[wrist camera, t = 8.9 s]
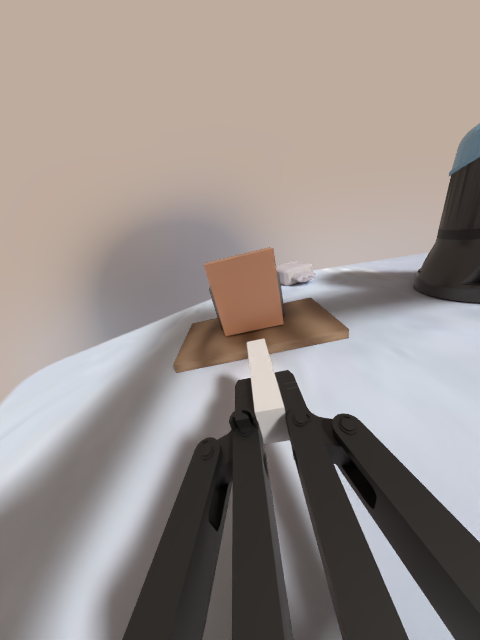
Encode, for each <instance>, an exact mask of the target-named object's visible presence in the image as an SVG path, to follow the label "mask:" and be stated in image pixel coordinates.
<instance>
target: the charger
mask: <svg viewBox="0 0 480 640" xmlns="http://www.w3.org/2000/svg"><path fill="white" fill-rule="evenodd" d="M276 271H277V272H279V275H280V282H281V284H284V285H286V286H288V285H293V284H296V283H299V282H306V281H309V280H311V279H312V278H314V277H315V275H316V274H315V273H313V271H312V265H311V264H308V263H301V262H295V261H293V262H289V263H286V264H282V265H279V266H276Z"/></svg>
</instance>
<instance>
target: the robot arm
mask: <svg viewBox="0 0 480 640" xmlns="http://www.w3.org/2000/svg"><path fill="white" fill-rule="evenodd" d="M449 176H451V179H450V183H449V188H448V192H447V196H446V200H445V204H444V209H443V213H442V217H441V221H440V226H439V230H438V235H437V239H436V242H435V244H434V246H433V248H432V249H431V251H430V253H429V254H428V256H427V258H426V259H425V261H424V263H423V265H422V267H421V269H419V270H418V271H417V273H416V276H415V281H414V288H415V289H416V290H418V291H420V292H422V293H424V294H427V295H430V296H434V297H438V298H443V299H449V300H455V301H464V302H476V303H480V124H478V125H477V126H475V127H474V128H473V129H472V130H470V131H469V132H468V133H467V134H466V135H465V137H464V138H463V139H462V141H461V142H460V144H459V147H458V150H457V153H456V157H455V160H454V164H453V168H452V170H451V171H450V173H449ZM247 350H248V358H249V367H250V375H251V378H247V379H242V380H238V381H237V384H236V386H235V411H234V412H233V413H232V415H231V416H230V419H229V423H230V426H231V428H232V430H231V431H230V432H229V433H228V434H227V435H225V436H223V437H222V438H220V439H218V440H216V439H215V438H212V437H210V438H206V439H204V440H202V441H201V442H200V443H199V444H198V445H197V447H196V449H195V451H194V454H193V456H192V459H191V462H190V464H189V467H188V469H187V472H186V475H185V477H184V480H183V482H182V485H181V488H180V490H179V493H178V496H177V498H176V501H175V503H174V506H173V509H172V511H171V514H170V517H169V519H168V522H167V524H166V527H165V530H164V532H163V535H162V537H161V540H160V543H159V545H158V548H157V551H156V553H155V556H154V558H153V561H152V564H151V566H150V569H149V571H148V574H147V577H146V579H145V582H144V585H143V587H142V590H141V592H140V595H139V598H138V600H137V603H136V606H135V608H134V611H133V613H132V616H131V619H130V621H129V624H128V626H127V629H126V632H125V634H124V637H123V640H202V637H203V632H204V627H205V622H206V617H207V611H208V606H209V601H210V596H211V590H212V585H213V580H214V575H215V570H216V564H217V559H218V554H219V549H220V543H221V538H222V533H223V528H224V523H225V517H226V512H227V507H228V502H229V496H230V491H231V486H232V481H233V551H232V640H293V635H292V629H291V622H290V615H289V608H288V601H287V595H286V588H285V581H284V574H283V567H282V560H281V554H280V547H279V540H278V533H277V526H276V520H275V513H274V506H273V499H272V492H271V486H270V479H269V472H268V465H267V458H266V454H265V450H264V444H269V443H275V442H281V441H287V440H290V442H291V445H292V451H293V456H294V460H295V462H296V466H297V470H298V474H299V477H300V481H301V485H302V489H303V492H304V496H305V500H306V504H307V507H308V511H309V515H310V519H311V522H312V526H313V530H314V534H315V537H316V541H317V545H318V549H319V552H320V556H321V560H322V564H323V567H324V571H325V575H326V579H327V582H328V586H329V590H330V594H331V597H332V601H333V605H334V609H335V612H336V616H337V620H338V624H339V627H340V631H341V635H342V639H343V640H409V639H408V636H407V634H406V632H405V629H404V627H403V625H402V622H401V620H400V618H399V615H398V613H397V611H396V608H395V606H394V604H393V601H392V599H391V597H390V594H389V592H388V590H387V587H386V585H385V583H384V581H383V578H382V576H381V574H380V571H379V569H378V567H377V564H376V562H375V560H374V557H373V555H372V553H371V550H370V548H369V546H368V543H367V541H366V539H365V536H364V534H363V532H362V529H361V527H360V525H359V522H358V520H357V518H356V515H355V513H354V511H353V508H352V506H351V504H350V501H349V499H348V497H347V494H346V492H345V490H344V487H343V485H342V483H341V480H340V478H339V476H338V473H337V471H336V469H335V466H334V464H336V465H337V466H338V468H339V469H340V471H341V472H342V474H343V475H344V476H345V478H346V479H347V481H348V482H349V484H350V485H351V487H352V488H353V490H354V491H355V493H356V494H357V496H358V497H359V499H360V500H361V502H362V503H363V504H364V506H365V507H366V509H367V510H368V512H369V513H370V515H371V516H372V518H373V519H374V521H375V522H376V524H377V525H378V527H379V528H380V530H381V531H382V532H383V534H384V535H385V537H386V538H387V540H388V541H389V543H390V544H391V546H392V547H393V549H394V550H395V552H396V553H397V555H398V556H399V558H400V559H401V560H402V562H403V563H404V565H405V566H406V568H407V569H408V571H409V572H410V574H411V575H412V577H413V578H414V580H415V581H416V583H417V584H418V585H419V587H420V588H421V590H422V591H423V593H424V594H425V596H426V597H427V599H428V600H429V602H430V603H431V605H432V606H433V608H434V609H435V611H436V612H437V613H438V615H439V616H440V618H441V619H442V621H443V622H444V624H445V625H446V627H447V628H448V630H449V631H450V633H451V634H452V636H453V637H454V639H455V640H480V542H479V541H478V540H477V539H476V538H475V537H474V536H473V535H472V534H471V533H470V532H469V531H468V530H467V529H466V528H465V527H464V526H463V525H462V524H461V523H460V522H459V521H458V520H457V519H456V518H455V517H454V516H453V515H452V514H451V513H450V512H449V511H448V510H447V509H446V508H445V507H444V506H443V505H442V504H441V503H440V502H439V501H438V500H437V499H436V498H435V497H434V496H433V495H432V493H431V492H430V491H429V490H428V489H427V488H426V487H425V486H424V485H423V484H422V483H421V482H420V481H419V480H418V479H417V478H416V477H415V476H414V475H413V474H412V473H411V472H410V471H409V470H408V469H407V468H406V467H405V466H404V465H403V464H402V463H401V462H400V461H399V460H398V459H397V458H396V457H395V456H394V455H393V454H392V453H391V452H390V451H389V450H388V449H387V448H386V447H385V446H384V445H383V444H382V443H381V442H380V441H379V440H378V439H377V438H376V437H375V436H374V435H373V433H372V432H371V431H370V430H369V429H368V428H367V427H366V426H365V425H364V424H363V423H362V422H361V421H360V420H358V419H357V418H356V417H354V416H352V415H349V414H338V415H336V416H335V417H334V418H333V419H328V418H322V417H318V416H316V415H314V414H313V413H311V412H310V411H309V410H308V408H307V406H306V404H305V401H304V399H303V397H302V394H301V392H300V390H299V387H298V385H297V382H296V380H295V378H294V375H293V374H292V373H291V372H290V371H289V370H286V371H281V372H276V373H274V370H273V366H272V363H271V359H270V356H269V353H268V349H267V346H266V342H265V339H259V340H254V341H250V342H247Z"/></svg>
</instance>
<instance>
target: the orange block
mask: <svg viewBox="0 0 480 640" xmlns="http://www.w3.org/2000/svg"><path fill="white" fill-rule="evenodd" d="M204 267H205V270H206V273H207V277H208V280H209V284H210V287H211V290H212V294H213V297H214V300H215V303H216V307H217V310H218V313H219V317H220V320H221V323H222V326H223V330H224V333H225V336H230V335H235V334H239V333H244V332H249V331H253V330H258V329H263V328H267V327H272V326H277V325H282V324H284V322H283V315H282V308H281V300H280V293H279V286H278V278H277V271H276V264H275V256H274V250H273V248H270V247H269V248H265V249H261V250H256V251H252V252H248V253H244V254H240V255H236V256H232V257H228V258H224V259H219V260H215V261H211V262H207V263H206V264H205V265H204Z"/></svg>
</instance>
